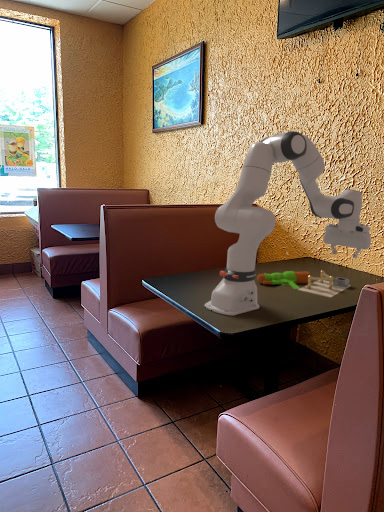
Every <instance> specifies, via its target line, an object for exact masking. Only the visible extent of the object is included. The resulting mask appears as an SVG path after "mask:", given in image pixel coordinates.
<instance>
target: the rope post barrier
mask: <svg viewBox="0 0 384 512" xmlns="http://www.w3.org/2000/svg"><path fill="white" fill-rule="evenodd" d="M334 278H335V277H334V276H332V275H328V274H327V273H326V272H325V270H323V269H322V270H320V276H319V277H316V276H312V275H311V276H308V284H307V285H308V286H307V289H311V283H312V281H318V280H320V283H323V280H325V281H329V288H328V289H332V283H333V279H334Z"/></svg>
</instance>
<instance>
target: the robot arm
mask: <svg viewBox="0 0 384 512" xmlns="http://www.w3.org/2000/svg"><path fill="white" fill-rule="evenodd" d="M289 161H291V162H292V164H293V166H294V168H295V170H296V171H297V174H298V180H299V182H300V185H301V187H302V190H303V192H304V193H305V196H306V197H307V200H308V202H309V209H310V212H311V213H312V215H313V216H314V217H316V218H326V219H333V220H338V221H337V222H338V223H337V224H332V223H328V224H327V225H326V226H325V229H324V232H325V233H324V236H323V242H324V244H329V245H330V249H331V251H332V252H331V253H332V255H337V253H338V252H337V249H336V248H335V247H336V246H341V247H348V248H353V249H354V248H355V250H356V252H355V253H353V254H352V258H354V259H357V258H358V256H359V255H358V254H360V252H361V251H362V250H368V249H370V248H371V244H372V243H371V242H372V240H371V239H372V237H371V233H370V230H371V227H370V226H368V225H366V224H363V223H361V219H360V215H361V212H362V207H363V195H362V192H360V191H359V190H357V189H356V190H355V189H344V190H343V192H341V193H340V194H338V195H335V196H328V195H325V194H324V193H322V192H321V190H320V187H319V185H318V183H317V181H316V180H317V179H318V178H319V177H320V176H321V175H323V173H324V171H325V166H326V163H325V160H324V157H323V156H322V154H321V153H320V150H319V149H318V148H317V146H316V145H315V143H314V141H312V140H311V139H310V137H309V136H307V135H305V134H302V133H301V132H299V131H295V130H294V131H293V130H291V131H286V132H282V133H276V134H273V135H269V136H267V137H264V138H263V139H262V140H260V141H257V142H255V143H253V144H252V145H250V147H249V149H248V151H247V153H246V156H245V159H244V161H243V165H242V169H241V172H240V176H239V179H238V182H237V186H236V188H235V190H234V192H233V193H232V194H231V196H230V197H229V198H228V199H227V201H226V202H224V203H223V204H222V205H220V206H219V207H218V208H217V209H216V211H215V214H214V222H215V224H216V226H217V228H219V229H221V230H223V231H226V232H227V233H235V234H239V236H238V240H237V242H236V243H233V244H232V245H230V246H229V247H228V249H227V258H226V267H225V268H224V270H220V271H219V276H220V277H223V278H222V279H221V281H220V282H219V283H218V284H217V286H216V287H215V288H214V289H213V290H212V292H211V298H210V300H209V301H208V302H206V303H204V307H206V308H205V309H207V310H209V311H211V310H212V311H211V312H214V313H217V314H221V315H225V316H236V315H240V314H243V313H247V312H251V311H254V310H258V309H260V304H258V287H257V285H256V281H255V279H256V277H257V273H256V272H257V270H256V262H257V261H256V260H257V254H258V253H257V252H258V248H259V247H260V244H261V243H262V241H263V240H264V239H265V238H266V237H268V236H269V235H270V234H271V233H272V232H273V231H274V229H275V226H276V217H275V216H276V215H275V214H274V213H273V211H272V210H269V209H267V208H264V207H262V206H252V205H254V203H255V202H256V201H257V200H258V199H260V198H262V197H264V196H265V195H266V192H267V190H268V186H269V182H270V178H271V175H272V171H273V170H272V169H273V165H274V163H276V164H277V163H285V162H286V163H287V162H289Z"/></svg>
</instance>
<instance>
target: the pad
mask: <svg viewBox="0 0 384 512" xmlns="http://www.w3.org/2000/svg"><path fill="white" fill-rule="evenodd" d="M351 285H352V284H351ZM351 285H350V284H349V285H348V286H347V287H345V288H344V287H339V286H334V285H333V284H332V286H334V287H339V288H343V289H345V290H347V289H349V288H350V287H351ZM346 288H347V289H346Z"/></svg>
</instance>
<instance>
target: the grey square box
mask: <svg viewBox="0 0 384 512" xmlns="http://www.w3.org/2000/svg"><path fill="white" fill-rule="evenodd" d="M349 283H350V279H349V278H347V277H346V278H344V277H339V276H336V277H334V279H333V285H334V286H339V287H344V288H345V287H347V286H348V285H350V284H349Z"/></svg>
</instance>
